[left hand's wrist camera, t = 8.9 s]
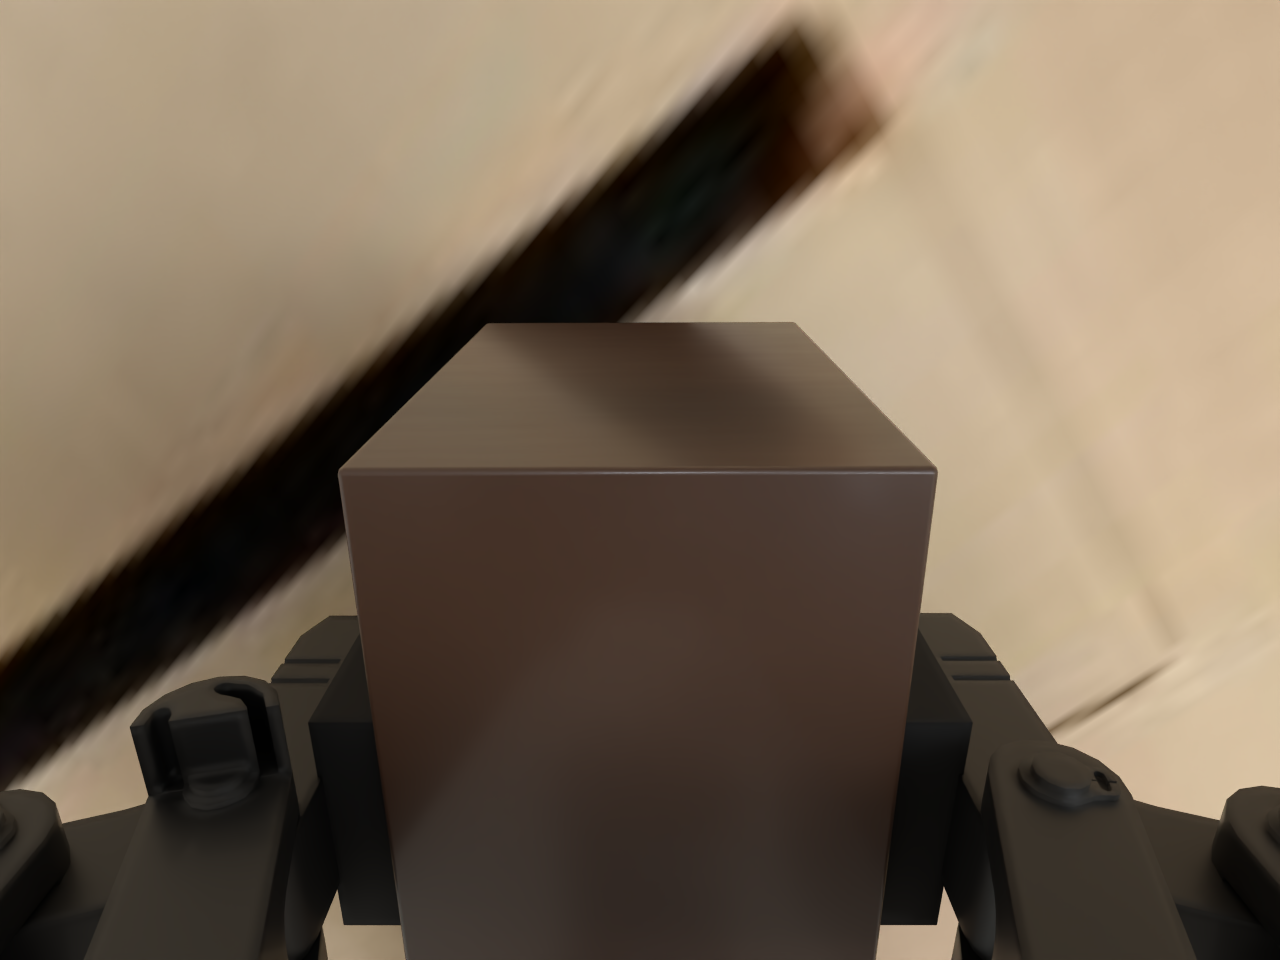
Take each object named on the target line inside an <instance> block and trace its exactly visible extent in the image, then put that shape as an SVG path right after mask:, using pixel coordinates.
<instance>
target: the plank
mask: <svg viewBox="0 0 1280 960" xmlns="http://www.w3.org/2000/svg"><path fill="white" fill-rule="evenodd" d="M937 475H938V471H937V468H936V467H935V466H934V464H933V463H932V462H931V461H930V460H929V459H928V458H927V457H926V456H925V455H924V454H923V453H922V452H921V451H920V450H919V449H918V448H917V447H916V446H915V445H914V444H913V443H912V442H911V441H910V440H909V439H908V438H907V437H906V436H905V435H904V434H903V433H902V432H901V431H900V430H899V429H898V428H897V427H896V426H895V425H894V424H893V422H892V421H891V420H890V419H889V418H888V417H887V416H886V415H885V414H884V413H883V412H882V411H881V410H880V409H879V408H878V407H877V406H876V405H875V404H874V403H873V402H872V401H871V400H870V399H869V398H868V397H867V396H866V395H865V394H864V393H863V392H862V391H861V390H860V389H859V388H858V387H857V386H856V385H855V384H854V383H853V382H852V381H851V379H850V378H849V377H848V376H847V375H846V374H845V373H844V372H843V371H842V370H841V369H840V368H839V367H838V366H837V365H836V364H835V363H834V362H833V361H832V360H831V359H830V358H829V357H828V356H827V355H826V354H825V353H824V352H823V351H822V350H821V349H820V348H819V347H818V346H817V345H816V344H815V343H814V342H813V341H812V340H811V339H810V338H809V336H808V335H807V334H806V333H805V332H804V331H803V330H802V329H801V328H800V327H799V326H798V325H797V324H796V323H794V322H713V323H488V324H486V325H485V326H484V327H483V328H482V329H481V330H480V331H479V332H478V333H477V334H476V335H475V336H474V337H473V338H472V339H471V340H470V341H469V342H468V343H467V344H466V345H465V346H464V347H463V348H462V349H461V350H460V351H459V352H458V353H457V354H456V355H455V356H454V357H453V358H452V359H451V360H449V361H448V362H447V363H446V364H445V365H444V366H443V367H442V368H441V369H440V370H439V371H438V372H437V373H436V374H435V375H434V376H433V377H432V378H431V379H430V380H429V381H428V382H427V383H426V384H425V385H424V386H423V387H422V388H421V389H420V390H419V391H418V392H417V393H416V394H415V395H414V396H413V397H412V398H411V399H410V400H409V401H408V402H407V403H406V404H405V405H404V406H403V407H402V408H401V409H400V410H399V411H398V412H397V413H396V414H395V415H394V416H393V417H392V418H391V419H390V420H389V421H388V422H387V423H386V424H385V425H384V426H383V427H382V428H381V429H380V430H379V431H378V432H376V433H375V434H374V435H373V436H372V437H371V438H370V439H369V440H368V441H367V442H366V443H365V444H364V445H363V446H362V447H361V448H360V449H359V450H358V451H357V452H356V453H355V454H354V455H353V456H352V457H351V458H350V459H349V460H348V461H347V462H346V463H345V464H344V465H343V466H342V467H341V468H340V469H339V472H338V478H339V486H340V493H341V500H342V507H343V514H344V521H345V528H346V536H347V543H348V550H349V557H350V564H351V571H352V579H353V586H354V593H355V600H356V607H357V614H358V621H359V629H360V636H361V643H362V650H363V657H364V664H365V672H366V679H367V686H368V693H369V700H370V707H371V714H372V722H373V729H374V736H375V743H376V750H377V757H378V765H379V772H380V779H381V786H382V793H383V800H384V807H385V815H386V822H387V829H388V836H389V843H390V850H391V858H392V865H393V872H394V879H395V886H396V893H397V900H398V908H399V915H400V922H401V929H402V936H403V943H404V951H405V958H406V960H876V953H877V946H878V938H879V930H880V922H881V914H882V906H883V899H884V891H885V883H886V875H887V867H888V859H889V852H890V844H891V836H892V828H893V820H894V812H895V805H896V797H897V789H898V781H899V773H900V765H901V758H902V750H903V742H904V734H905V726H906V718H907V711H908V703H909V695H910V687H911V679H912V671H913V664H914V656H915V648H916V640H917V632H918V624H919V616H920V609H921V601H922V593H923V585H924V577H925V569H926V562H927V554H928V546H929V538H930V530H931V522H932V515H933V507H934V499H935V491H936V483H937Z"/></svg>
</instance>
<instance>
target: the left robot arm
mask: <svg viewBox="0 0 1280 960" xmlns="http://www.w3.org/2000/svg"><path fill="white" fill-rule="evenodd" d="M271 679H272V681H271V683H267V682H266V681H264V680H260V679H256V678H252V677H247V676H228V677H216V678H212V679H208V680H204V681H199V682H195V683H191V684H189V685H186V686H184V687H182V688H179V689H177V690H175V691H172V692H170V693H168V694H165V695H164V696H162V697H161V698H160V699H158V700H157V701H155V702H154V703H152V704H151V705H149V706H148V707H147V708H145V709H144V710H143V711H142V712H141V713H140V714H139V716H138V717H137V718H136V720H135V721H134V722H133V723H132V725H131V726H130V730H131V734H132V737H133V741H134V745H135V748H136V752H137V756H138V759H139V763H140V766H141V770H142V774H143V777H144V781H145V785H146V788H147V792H148V799H147V801H146V804H143V805H140V806H136V807H133V808H129V809H126V810H122V811H117V812H113V813H108V814H104V815H99V816H95V817H90V818H86V819H81V820H77V821H72V822H68V823H63V824H62V822H61V819H60V816H59V813H58V810H57V807H56V804H55V802H54V801H52V800H51V799H50V798H49V797H47V796H46V795H45V794H44V793H42V792H35V791H29V790H22V789H18V790H11V791H3V792H0V960H328V957H327V951H326V944H325V938H324V933H323V928H322V925H323V923H324V920H325V918H326V916H327V913H328V911H329V908H330V906H331V903H332V901H333V898H334V896H335V894H336V891H337V889H338V895H339V900H340V906H341V911H342V917H343V923H344V925H401V922H400V915H399V908H398V900H397V893H396V886H395V879H394V872H393V865H392V858H391V850H390V843H389V836H388V829H387V822H386V815H385V807H384V800H383V793H382V786H381V779H380V772H379V765H378V757H377V750H376V743H375V736H374V729H373V722H372V714H371V707H370V700H369V693H368V686H367V679H366V672H365V664H364V657H363V650H362V643H361V636H360V629H359V621H358V616H329V617H327V618H326V619H324V620H323V621H322V622H320V623H319V624H317V625H316V626H314V627H313V628H312V629H310V630H309V631H307V632H306V633H304V634H303V635H302V636H301V637H300V638H299V640H298V641H297V642H296V644H295V645H294V647H293V648H292V650H291V651H290V652H289V654H288V655H287V657H286V658H285V664H281V665H280V667H279V668H278V670H277V671H276V673H275V674H274V675H273V677H272V678H271ZM943 887H944V888H945V890H946V892H947V895H948V897H949V900H950V902H951V905H952V907H953V910H954V912H955V914H956V917H957V919H958V922H959V923H958V928H957V933H956V938H955V943H954V949H953V954H952V959H951V960H1280V788H1274V787H1267V786H1257V787H1251V788H1244V789H1239V790H1238V791H1237V792H1235V793H1234V794H1233V795H1232V796H1230V797H1229V798H1228V799H1227V800H1226V803H1225V806H1224V809H1223V813H1222V816H1221V819H1220V820H1215V819H1211V818H1206V817H1202V816H1197V815H1193V814H1188V813H1184V812H1179V811H1175V810H1170V809H1165V808H1161V807H1157V806H1153V805H1150V804H1146V803H1143V802H1139V801H1136V800H1133V797H1132V795H1131V793H1130V792H1129V790H1128V789H1127V787H1126V786H1125V784H1124V783H1123V782H1122V780H1121V779H1120V777H1119V776H1118V775H1116V774H1115V773H1114V772H1113V771H1111V770H1110V769H1109V768H1108V767H1106V766H1105V765H1104V764H1103V763H1101V762H1100V761H1099V760H1097V759H1095V758H1093V757H1091V756H1089V755H1087V754H1085V753H1083V752H1081V751H1078V750H1076V749H1074V748H1072V747H1068V746H1064V745H1060V744H1057V742H1056V741H1055V739H1054V738H1053V736H1052V735H1051V734H1050V732H1049V731H1048V729H1047V728H1046V726H1045V725H1044V724H1043V722H1042V721H1041V719H1040V718H1039V716H1038V715H1037V714H1036V712H1035V711H1034V709H1033V708H1032V706H1031V705H1030V704H1029V702H1028V701H1027V699H1026V698H1025V696H1024V695H1023V694H1022V692H1021V691H1020V689H1019V688H1018V686H1017V685H1016V684H1015V682H1014V681H1010V675H1009V674H1008V672H1007V671H1006V669H1005V668H1004V666H1003V665H1002V664H1001V662H1000V661H997V659H996V655H995V654H994V652H993V651H992V649H991V648H990V646H989V645H988V644H987V642H986V641H985V639H984V638H983V636H982V635H981V634H980V633H979V632H978V631H976V630H975V629H973V628H972V627H971V626H969V625H968V624H966V623H965V622H963V621H962V620H961V619H959V618H958V617H956V616H955V615H953V614H952V613H920V616H919V624H918V632H917V640H916V648H915V656H914V664H913V671H912V679H911V687H910V695H909V703H908V711H907V718H906V726H905V734H904V742H903V750H902V758H901V765H900V773H899V781H898V789H897V797H896V805H895V812H894V820H893V828H892V836H891V844H890V852H889V859H888V867H887V875H886V883H885V891H884V899H883V906H882V914H881V922H880V925H937V921H938V915H939V910H940V904H941V898H942V893H943Z"/></svg>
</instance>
